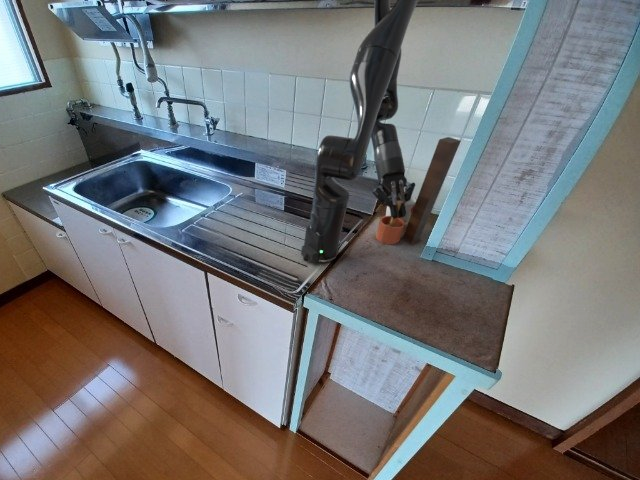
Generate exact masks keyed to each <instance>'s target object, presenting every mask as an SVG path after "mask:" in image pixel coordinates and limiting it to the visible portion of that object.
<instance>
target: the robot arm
mask: <svg viewBox="0 0 640 480" xmlns="http://www.w3.org/2000/svg"><path fill="white" fill-rule="evenodd" d="M418 3H419V0H396V2H395V3H394V5H393V6H392V7H391V0H374V16H373V17H374V20H373V23H374V25H373V26H374V27H373V28H372V29H371V31H370V32H369V33H368V34H366V36H365V37H364V38H363V40H362V42H361V43H360V45H359V47H358V48H357V52H356V55H355V58H354V61H353V64H352V67H351V71H350V73H349V74H350V75H349V80H348V81H349V89H350V94H351V98H352V101H353V105H354V108H355V109H354V110H355V112H356V113H355V114H356V121H357V129H356V134H355V137H354V138H353V137H346V136H339V135H331V134H330V135H326V136H324V137H323V138H322V139H321V141H320V143H319V146H318V150H317V154H316V161H315V172H314V173H315V174H314V184H313V196H312V197H313V198H312V204H311V211H310V216H309V217H310V218H309V224H308V225H306V227H305V236H304V243H303V245H302V246H301V251H300V252H301V253H300V255H301V256H303V257H302V258H303V261H304V262H307V263H308V262H310V263H314V264H317V263H323V264H324V263H330V262H333V261H334V260H335V259H336V258H337V255H338V251H339V250H338V249H339V246H340V240H341V235H342V232H343V227H344V222H345V217H346V214H347V213H346V212H347V208H348V204H349V199H350V192H349V190H348V189H347V188H346V187H345V186H343V185H341V184H340V183H338V182H337V180H336V179H339V180H344V181H354V180H356V179H357V177H358V176H359V174H360V172H361V170H362V167H363V164H364V162H365V158H366V155H367V153H368V148H369V144H370V141H371V144H372V149H373V158H374V166H375V171H376V176H377V180H378V181H379V182H378V186H377V187H376V188H374V189H373V190H372V194H373V195H374V196H375V198H376V199H377V201H378V202H379V203H380V204H381V205H382V206H383V207H387V206H388V207H389V208H390V212H391V216H392V217H393V219H396V218H398V217H399V218H402V217H405V214H406V210H405V203H406V202H407V201H409V200H410V199H411V196H413V193H414V190H415V187H416V183H415V182H409V181H408V180H407V178H406V175H405V173H406V168H405V164H404V158H403V152H402V148H401V145H400V142H399V137H398V136H399V135H398V130H397V128H396V127H397V126H396V125H395V124H393V123H385V122H384V123H383V121H386V120H390V119H392V118H394V116H395V115H396V114H397V112H398V109H399V97H398V76H399V71H400V65H401V60H402V45H403V42H404V40H405V36H406V33H407V30H408V27H409V24H410V22H411V19H412V16H413V14H414V11H415V9H416V6H417V4H418ZM398 200H399V201H402V204H401V206H400V209H399V211H398V206H397V205H396V203H397V201H398Z"/></svg>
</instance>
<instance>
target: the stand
mask: <svg viewBox="0 0 640 480" xmlns="http://www.w3.org/2000/svg"><path fill="white" fill-rule="evenodd" d="M461 141H462V140H460V139H457V138H453V137H449V136H447V137H443V138H440V139H438V141H437V145H436V147H435V150H434V153H433V156H432V157H431V161H430V163H429V166H428V168H427V170H426V171H427V172H426V174H425V177H424V179H423V182H422V184H421V187H420V190H419V192H418V195H417V197H416V199H417V200H416V203H415V206H414V208H413V211H412V213H411V215H410V216H409V218H408V221H407V224H406V226H405V229H404V231H403V234H402V237H401V240H402V241H403V240H404V241H405V242H407V243H408V244H411V245H413V244H415V243H417V242H419V241H420V240H421V237H422V235H423V232H424V230H425V228H426V225H427V224H428V220H429V218H430V216H431V214H432V211H433V209H434V206H435V203H436V201H437V199H438V197H439V194H440V192H441V190H442V187H443V185H444V183H445V180H446V177H447V176H448V174H449V171H450V168H451V166H452V164H453V160H454V158H455V156H456V154H457V151H458V149H459V146H460V144H461Z"/></svg>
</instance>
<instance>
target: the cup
mask: <svg viewBox="0 0 640 480" xmlns="http://www.w3.org/2000/svg"><path fill="white" fill-rule="evenodd" d="M416 200H417V197H415V196H413V195H412V196H411V199H410V200H409V201H407V202H406V203H405V210H406V214H405V217H402V218H401V219H403V220H404V221H405V223H408V221H409V219H410V216H411V214H412V211H413V208H414V206H415V203H416ZM385 216H391V212H390V208H389V207H388V206H386V211H385Z"/></svg>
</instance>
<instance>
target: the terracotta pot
mask: <svg viewBox="0 0 640 480" xmlns="http://www.w3.org/2000/svg"><path fill="white" fill-rule="evenodd" d="M391 218H392V216H386V215H384V216H382V217H380V219H379V221H378V225H377V228H376V232H375V239H376V240H377V241H378V242H379V243H382V244H385V245H396V244H397V243H399V241H400V240H401V239H402V237H403V234H404V231H405V228H406V226H407V224H406V223H407V222H406V223H405V221H404V220H403V219H401V218H399V217H398V218H396V221H395V225H396V227H391V226H388V225H387V224H389V223H390V221H391Z"/></svg>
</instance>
